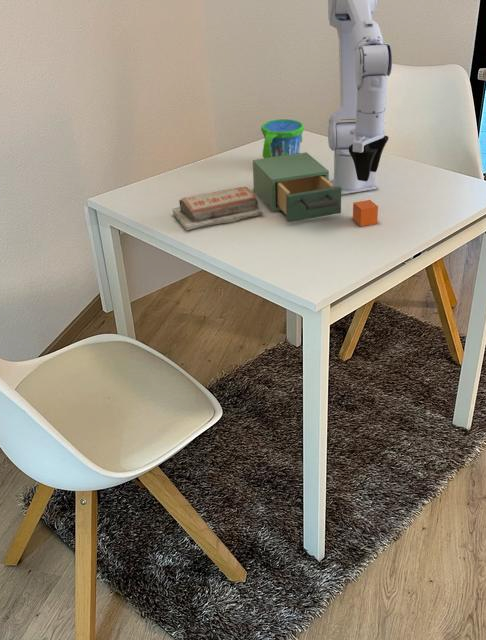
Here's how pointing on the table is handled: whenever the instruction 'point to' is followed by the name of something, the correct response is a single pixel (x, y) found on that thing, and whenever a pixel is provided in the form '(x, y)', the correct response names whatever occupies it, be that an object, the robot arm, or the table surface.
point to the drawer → (308, 198)
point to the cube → (365, 213)
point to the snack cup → (281, 137)
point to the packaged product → (217, 208)
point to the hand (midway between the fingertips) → (367, 175)
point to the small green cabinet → (283, 174)
